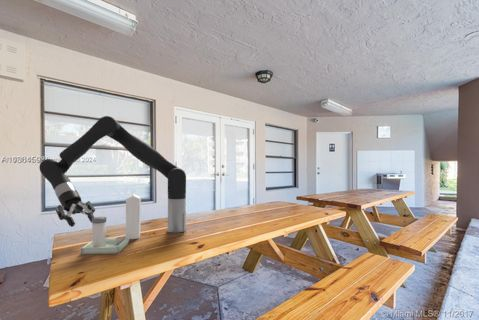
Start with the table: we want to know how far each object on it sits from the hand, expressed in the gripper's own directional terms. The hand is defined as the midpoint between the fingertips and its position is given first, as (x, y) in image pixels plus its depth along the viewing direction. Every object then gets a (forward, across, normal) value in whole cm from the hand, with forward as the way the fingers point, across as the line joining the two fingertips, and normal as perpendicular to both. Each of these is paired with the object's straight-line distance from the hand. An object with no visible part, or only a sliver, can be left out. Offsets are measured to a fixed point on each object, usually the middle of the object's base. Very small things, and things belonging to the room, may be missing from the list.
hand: (83, 223), depth 105 cm
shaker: (+14, 0, -1) cm, 14 cm away
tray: (+15, +2, -1) cm, 15 cm away
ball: (+15, +7, -4) cm, 17 cm away
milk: (+14, +18, 0) cm, 23 cm away
